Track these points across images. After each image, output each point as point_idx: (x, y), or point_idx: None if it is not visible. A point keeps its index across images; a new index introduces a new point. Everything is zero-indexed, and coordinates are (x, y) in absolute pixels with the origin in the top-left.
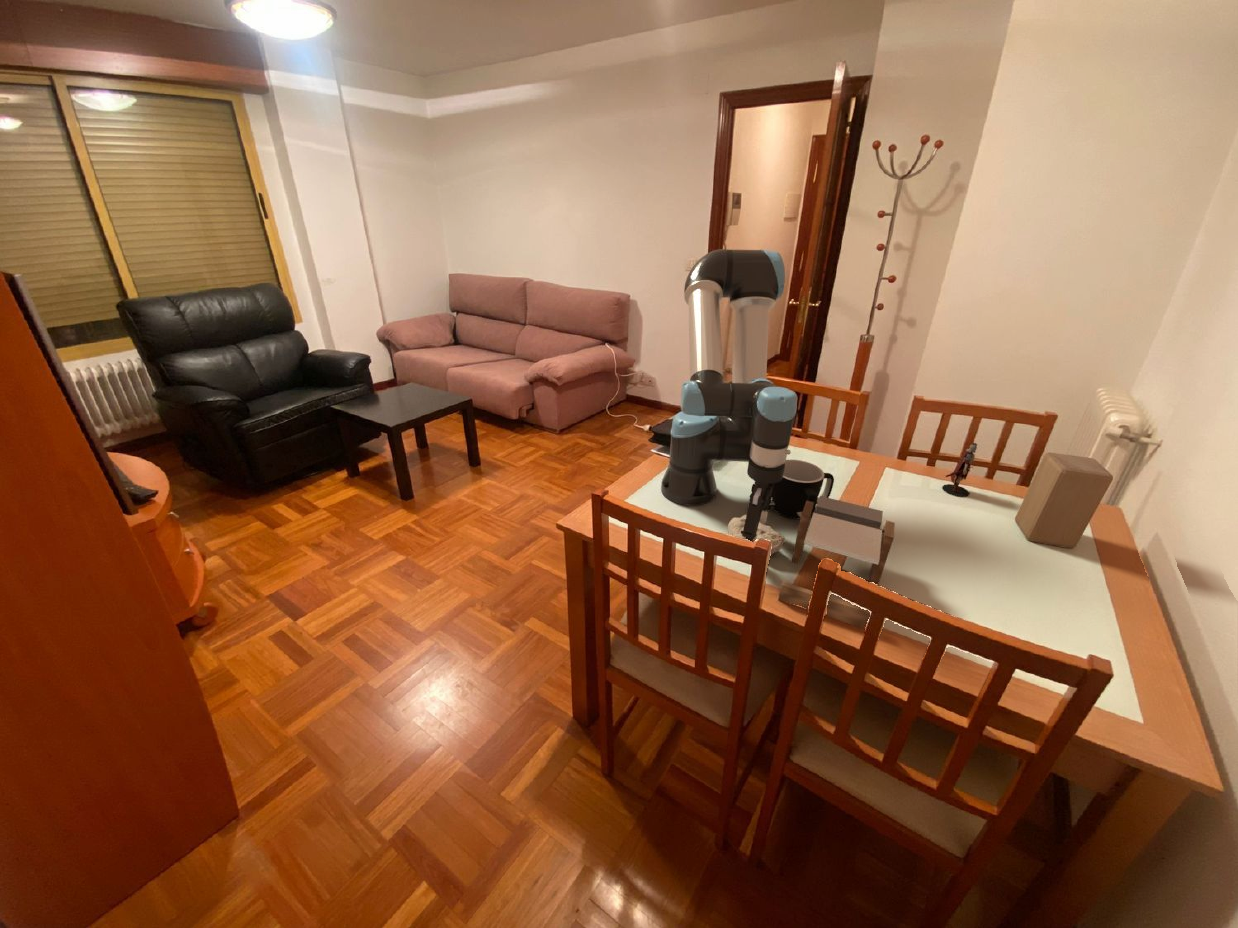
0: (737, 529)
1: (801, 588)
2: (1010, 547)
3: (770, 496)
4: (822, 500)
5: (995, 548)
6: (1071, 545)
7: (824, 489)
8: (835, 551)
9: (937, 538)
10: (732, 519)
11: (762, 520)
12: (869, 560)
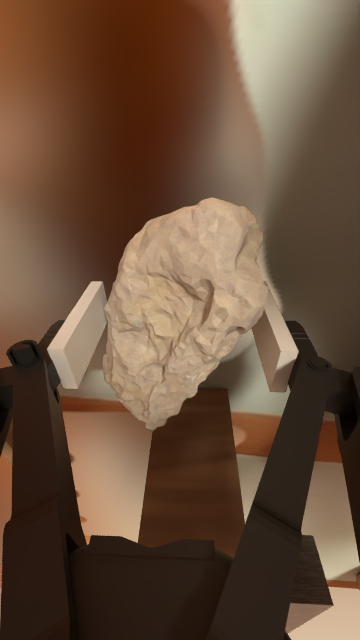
0: (158, 267)
1: (8, 450)
2: (345, 555)
3: (343, 462)
4: (294, 606)
5: (339, 549)
6: (357, 582)
7: None
8: None
9: (350, 523)
10: (224, 224)
11: (262, 347)
12: None
